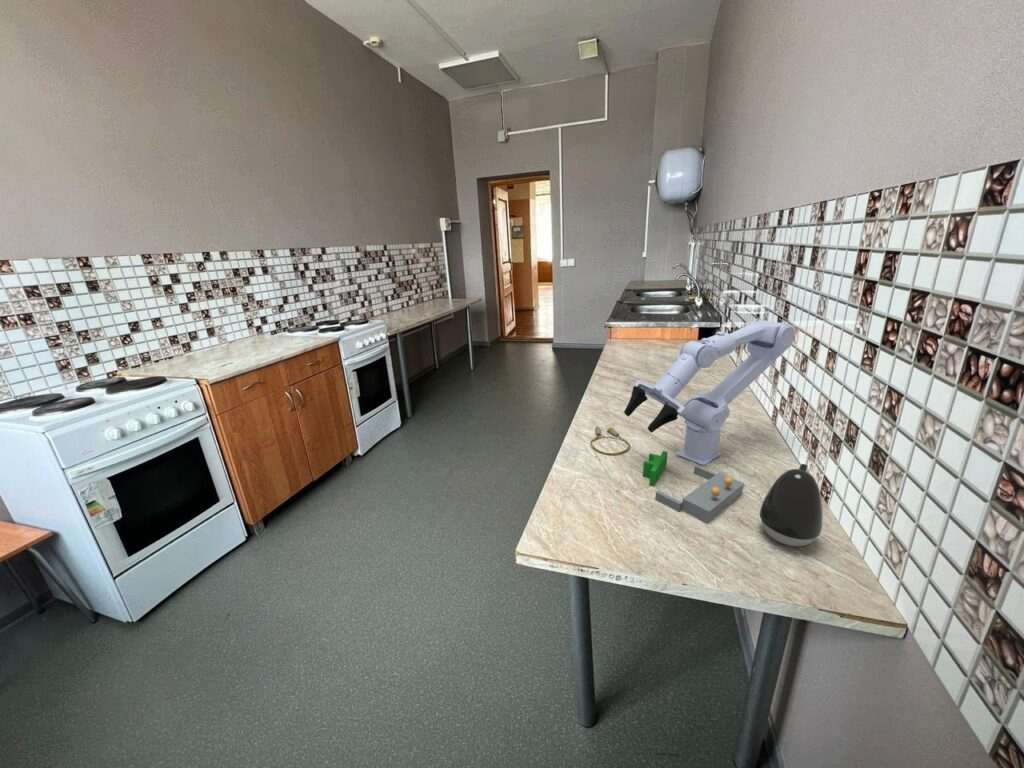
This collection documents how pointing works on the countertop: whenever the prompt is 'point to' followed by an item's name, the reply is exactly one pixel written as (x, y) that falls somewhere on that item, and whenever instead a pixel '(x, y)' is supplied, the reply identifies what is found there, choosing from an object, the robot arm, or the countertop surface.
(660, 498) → the pegged forked bracket
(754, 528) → the countertop surface
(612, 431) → the extension cord
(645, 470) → the pipe clamp
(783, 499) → the black rounded dome
